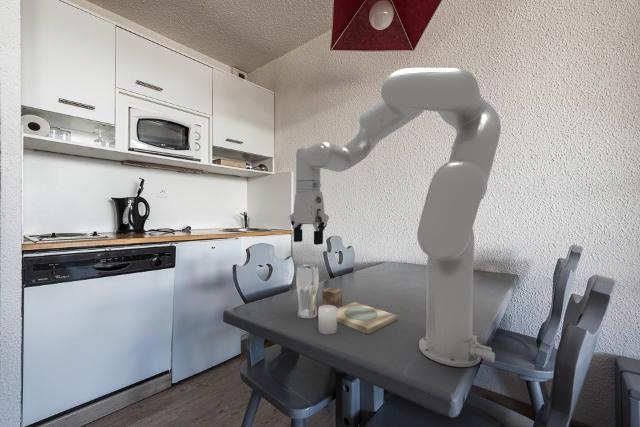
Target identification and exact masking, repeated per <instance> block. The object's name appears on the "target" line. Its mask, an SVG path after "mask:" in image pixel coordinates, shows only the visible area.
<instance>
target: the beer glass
mask: <svg viewBox="0 0 640 427" xmlns="http://www.w3.org/2000/svg"><path fill="white" fill-rule="evenodd" d="M319 276H320V275H319V266H318V265H315V264H300V265H297V267H296V277H295V278H296V280H295V282H296V292H297V298H298V309H297V313H296V314H297V317H298V318H300V319H307V320H308V319H314V318H316V317H317V316H318V309H317V297H318V292H319V291H318V290H319V283H320V282H319V281H320V279H319V278H320V277H319Z"/></svg>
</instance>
